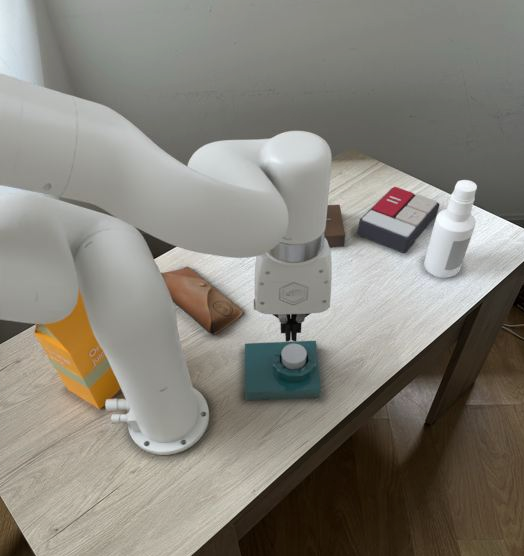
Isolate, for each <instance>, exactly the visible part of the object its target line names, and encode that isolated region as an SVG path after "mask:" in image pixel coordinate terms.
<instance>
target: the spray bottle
mask: <svg viewBox="0 0 524 556" xmlns="http://www.w3.org/2000/svg"><path fill="white" fill-rule="evenodd" d="M477 187H478V185H477V184H476V183H475V182H474V181H472V180H469V179H462V180H458V181H457V182H456V184H455V186H454V189H453V190H452V193H451V195H450V199H449V202H448V204H447V207H446V208H444V209H442V210H441V211H438V212H437V216H436V217H435V221H434V224H433V227H432V232H431V235H430V239H429V243H428V247H427V249H426V254H425V257H424V261H423V267H424V269H425V270H426V271H427V273H429V274H430V275H432V276H434V277H437V278H440V279H442V278H443V279H445V278H446V279H448V278H451V277H454V276H456V275H457V274H458V273H460V271H461V268H462V265H463V262H464V259H465V256H466V253H467V250H468V247H469V246H470V243H471V239H472V237H473V233H474V230H475V228H476V218H475V216H474V215H472V209H473V205H474V203H475V200H476V198H475V195H476V191H477V189H478V188H477Z"/></svg>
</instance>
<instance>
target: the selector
mask: <svg viewBox="0 0 524 556" xmlns="http://www.w3.org/2000/svg"><path fill="white" fill-rule="evenodd" d="M325 238H326V240H327V241H328V245H329V248H344V247H345V243H346V230H345V226H344V220H343V214H342V210H341V205H340V204H328V207H327V218H326V228H325Z"/></svg>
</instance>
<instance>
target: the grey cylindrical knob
mask: <svg viewBox="0 0 524 556" xmlns="http://www.w3.org/2000/svg"><path fill="white" fill-rule="evenodd" d="M281 359H282V364H283V365H284V366H285V367H286V368H288V369H291V370H297V369H300V368H302V367H303V366H304V365H305V364H306V360H307V352H306V349H305V348H304V347H303V346H301V345H299V344H289V345H287V346H285V347H284V348H283V350H282V352H281Z"/></svg>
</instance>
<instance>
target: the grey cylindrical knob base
mask: <svg viewBox="0 0 524 556" xmlns="http://www.w3.org/2000/svg"><path fill="white" fill-rule="evenodd" d="M289 344H299V345H301V346H303V347H304V348H305V349H306V352H307V360H306V364H305V365H304V366H303V367H302V368H300V369H297V370H291V369H288V368H286V367H285V366H284V365H283V364H282V359H281V352H282V350H283V348H284V347H285V346H287V345H289ZM244 398H245V401H259V400H264V401H265V400H285V399H311V398H322V384H321V374H320V364H319V356H318V346H317V340H299V341H297V340H296V341H275V342H274V341H273V342H252V343H249V342H248V343H244Z"/></svg>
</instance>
